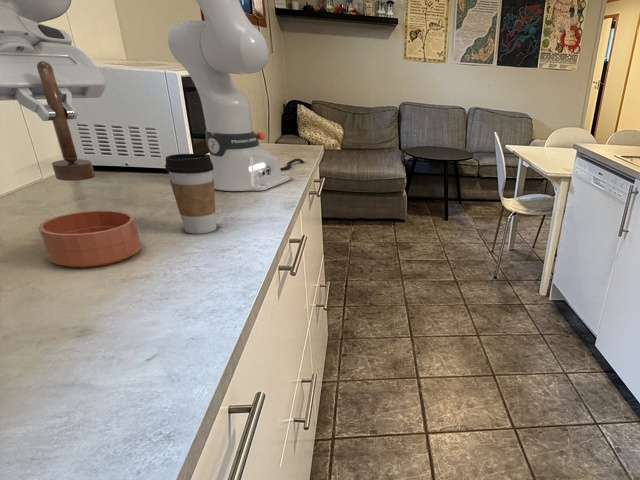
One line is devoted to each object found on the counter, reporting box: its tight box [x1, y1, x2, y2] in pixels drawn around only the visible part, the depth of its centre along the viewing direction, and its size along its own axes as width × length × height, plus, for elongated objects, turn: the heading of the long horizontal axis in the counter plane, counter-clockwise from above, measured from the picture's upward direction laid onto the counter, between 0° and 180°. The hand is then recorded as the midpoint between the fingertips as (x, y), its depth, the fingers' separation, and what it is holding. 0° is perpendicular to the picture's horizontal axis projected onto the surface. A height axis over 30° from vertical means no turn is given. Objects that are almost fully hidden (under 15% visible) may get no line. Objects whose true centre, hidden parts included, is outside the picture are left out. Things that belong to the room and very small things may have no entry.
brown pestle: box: [37, 61, 96, 182], centre depth 74 cm, size 5×5×17 cm
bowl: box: [37, 210, 142, 268], centre depth 82 cm, size 13×13×6 cm
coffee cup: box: [164, 153, 217, 235], centre depth 94 cm, size 8×8×15 cm
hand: (61, 117), depth 74 cm, fingers closed on brown pestle
